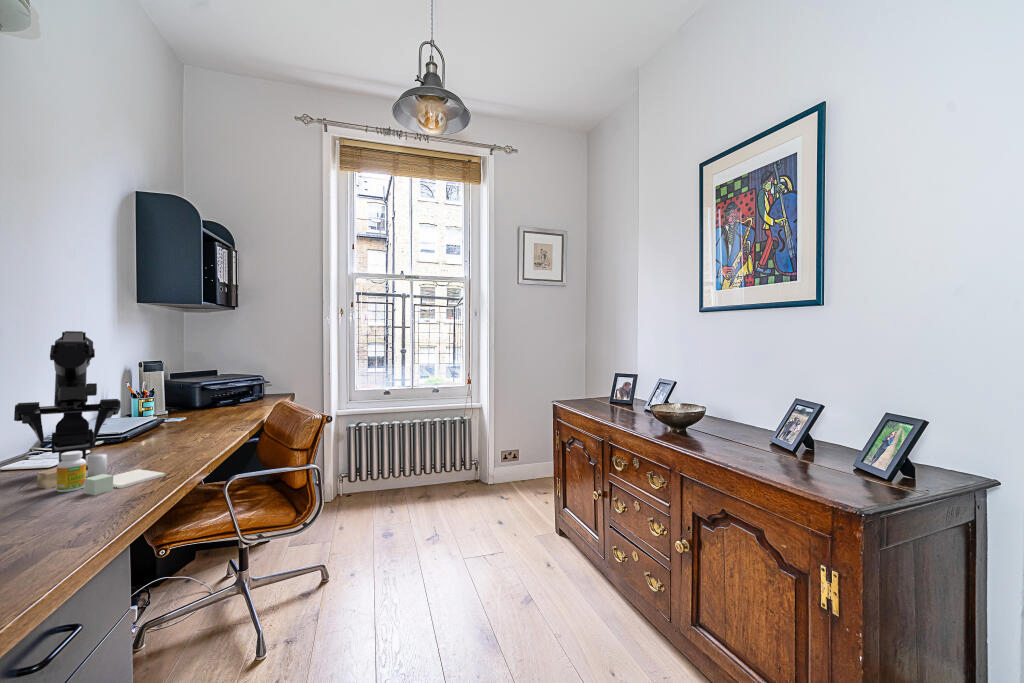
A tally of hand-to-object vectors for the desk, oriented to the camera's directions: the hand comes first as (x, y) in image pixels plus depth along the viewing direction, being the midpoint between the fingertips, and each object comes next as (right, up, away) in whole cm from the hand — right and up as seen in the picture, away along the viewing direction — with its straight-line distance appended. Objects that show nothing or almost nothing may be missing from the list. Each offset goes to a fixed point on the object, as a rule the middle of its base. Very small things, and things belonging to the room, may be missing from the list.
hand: (69, 441), depth 106 cm
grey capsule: (-9, -14, +17) cm, 24 cm away
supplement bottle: (-6, -14, +6) cm, 17 cm away
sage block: (+3, -15, +5) cm, 16 cm away
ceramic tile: (+2, -14, +14) cm, 20 cm away
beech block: (-14, -14, +9) cm, 22 cm away
